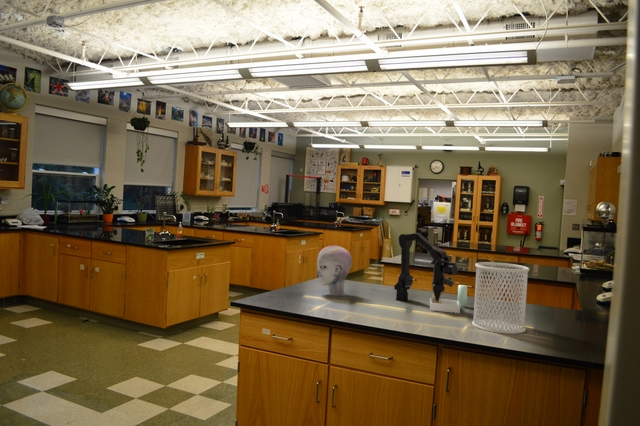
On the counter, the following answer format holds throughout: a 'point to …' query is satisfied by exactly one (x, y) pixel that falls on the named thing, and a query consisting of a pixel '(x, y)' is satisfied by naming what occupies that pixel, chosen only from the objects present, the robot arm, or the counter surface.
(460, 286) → the canister
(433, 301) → the cube
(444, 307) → the tote
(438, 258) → the robot arm
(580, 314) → the counter surface
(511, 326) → the wastebasket
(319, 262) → the sculpture
